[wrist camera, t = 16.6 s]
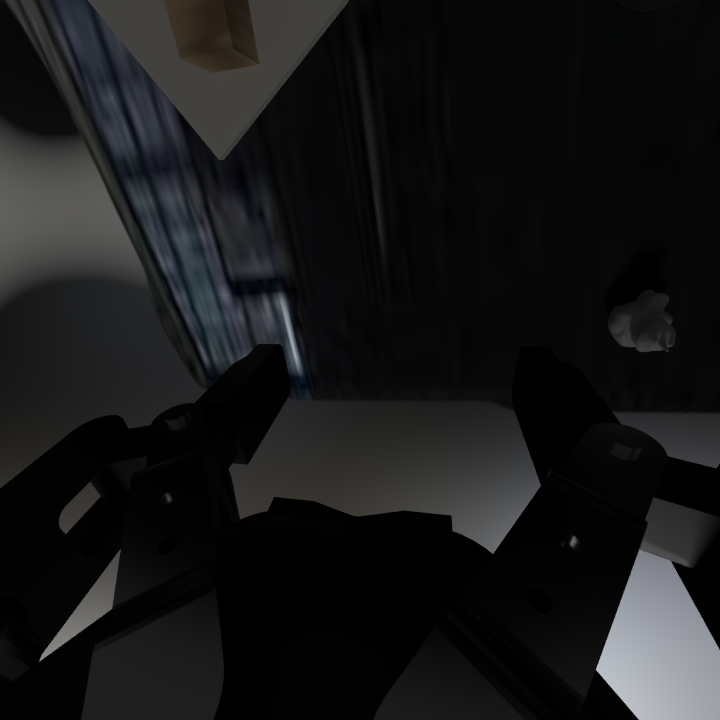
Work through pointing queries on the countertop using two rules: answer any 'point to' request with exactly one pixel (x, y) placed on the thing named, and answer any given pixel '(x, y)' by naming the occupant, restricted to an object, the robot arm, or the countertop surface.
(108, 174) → the countertop surface
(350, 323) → the countertop surface
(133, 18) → the cream board
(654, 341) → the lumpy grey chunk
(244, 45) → the brown tall block
